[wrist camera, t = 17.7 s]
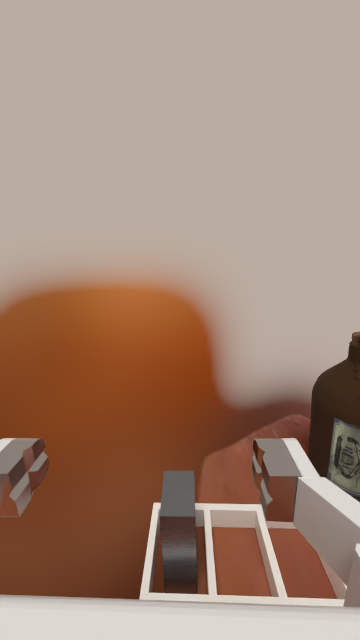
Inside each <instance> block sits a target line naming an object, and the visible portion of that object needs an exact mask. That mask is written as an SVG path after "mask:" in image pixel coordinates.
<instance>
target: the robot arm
mask: <svg viewBox="0 0 360 640" xmlns="http://www.w3.org/2000/svg"><path fill="white" fill-rule="evenodd" d="M45 448H46V446H45V443H44V440H42V439H31V438H29V439H28V438H4V439H1V440H0V517H19V516H20V515H21V513H22V512H23V510H24V509H25V507H26V506H27V504H28V503H29V501H30V500H31V499H32V491H33V490H34V489H36V488H37V487H38V486H40V485H41V484H42V482H43V480H44V479H45V477H46V474H47V471H48V467H49V461H48V457H47V456H46V454H45V453H44V452H43V451H44V449H45ZM253 451H254V454H255V455H254V456H253V457H252V472H253V478H254V482H255V486H256V488H257V489H258V490H259V491H260V503H261V506H262V509H263V512H264V516H265V519H266V521H275V522H293V525H294V526H295V527H296V528H297V529H298V530H299V532H300V533H301V534H302V535H303V536H304V537H305V538H306V540H307V541H308V542H309V543H310V544H311V545H312V547H313V548H314V549H315V550H316V551H317V552H318V554H319V555H320V556H321V557H322V558H323V559H324V560H325V562H326V563H327V564H328V565H329V566H330V567H331V569H332V570H333V571H334V572H335V573H336V574H337V576H338V577H339V578H340V579H341V580H342V581H343V582H344V584H345V585H346V586H347V591H346V595H345V600H344V605H343V607H341V606H312V605H284V604H255V603H226V602H197V601H168V600H138V599H109V598H79V597H50V596H47V597H46V596H18V595H0V640H360V502H358V501H357V500H356V499H354V498H353V497H351V496H350V495H349V494H347V493H346V492H344V491H343V490H342V489H340V488H339V487H338V486H336V485H335V484H333V483H332V482H331V481H329V480H328V479H326V478H325V477H320V476H319V474H318V473H317V471H316V470H315V468H314V466H313V465H312V463H311V462H310V460H309V458H308V457H307V455H306V453H305V452H304V450H303V449H302V447H301V445H300V444H299V442H298V440H296V439H295V438H281V439H254V440H253Z"/></svg>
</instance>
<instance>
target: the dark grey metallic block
mask: <svg viewBox="0 0 360 640" xmlns="http://www.w3.org/2000/svg"><path fill="white" fill-rule="evenodd" d="M160 531H161V545H162V558H163V573H164V588H165V593H180V594H197V566H196V516H195V490H194V471H164V478H163V488H162V497H161V507H160Z"/></svg>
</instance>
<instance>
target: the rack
mask: <svg viewBox="0 0 360 640" xmlns="http://www.w3.org/2000/svg"><path fill="white" fill-rule="evenodd" d="M160 507H161V503H154V505H153V511H152V519H151V525H150V532H149V539H148V545H147V552H146V559H145V565H144V573H143V579H142V586H141V592H140V599H139V600H168V601H197V602H226V603H255V604H284V605H312V606H341V607H343V605H344V600H345V595H346V591H347V586H346V585H345V584H344V582H343V581H342V580H341V579H340V578H339V577H338V576H337V574H336V573H335V572H334V571H333V570H332V569H331V567H330V566H329V565H328V564H327V563H326V562H325V560H324V559H323V558H322V557H321V556H320V555H319V554H318V556H319V558H320V560H321V562H322V565H323V567H324V569H325V572H326V574H327V576H328V578H329V581H330V583H331V585H332V587H333V590H334V592H335V594H336V597H337V599H317V598H288V597H287V594H286V591H285V587H284V584H283V580H282V577H281V574H280V570H279V567H278V563H277V560H276V556H275V553H274V550H273V546H272V543H271V539H270V536H269V533H268V529H267V528H286V529H297V528H296V527H295V526H294V525H293V522H275V521H266V519H265V516H264V512H263V509H262V506H261V505H258V504H200V503H195V516H196V527H204V535H205V554H206V572H207V590H208V595H203V594H174V593H153V584H154V575H155V566H156V557H157V548H158V539H159V530H160ZM211 527H239V528H255V530H256V534H257V539H258V543H259V547H260V551H261V555H262V559H263V563H264V567H265V571H266V575H267V579H268V583H269V587H270V591H271V595H272V597H260V596H231V595H217V589H216V577H215V565H214V553H213V541H212V529H211ZM317 553H318V552H317Z"/></svg>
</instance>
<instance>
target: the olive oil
mask: <svg viewBox="0 0 360 640" xmlns="http://www.w3.org/2000/svg"><path fill="white" fill-rule="evenodd" d="M308 458H309V460H310V462H311V463H312V465H313V466H314V468H315V470H316V471H317V473H318V474H319V476H320V477H325V478H326V479H328V480H329V481H331V482H332V483H333V484H335V485H336V486H338V487H339V488H340V489H342V490H343V491H344V492H346V493H347V494H349V495H350V496H351V497H353V498H354V499H356V500H357V501H358V502H360V332H354V333H353V334H352V342H350V345H349V353H348V358H347V359H346V360H344V361H343V362H341V363H339V364H337V365H335V366H333V367H332V368H330V369H328V370H326V371H325V372H323V373H322V374H321V375H320V376H319V377H318V379H317V381H316V383H315V385H314V387H313V390H312V404H311V423H310V440H309V453H308Z"/></svg>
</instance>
